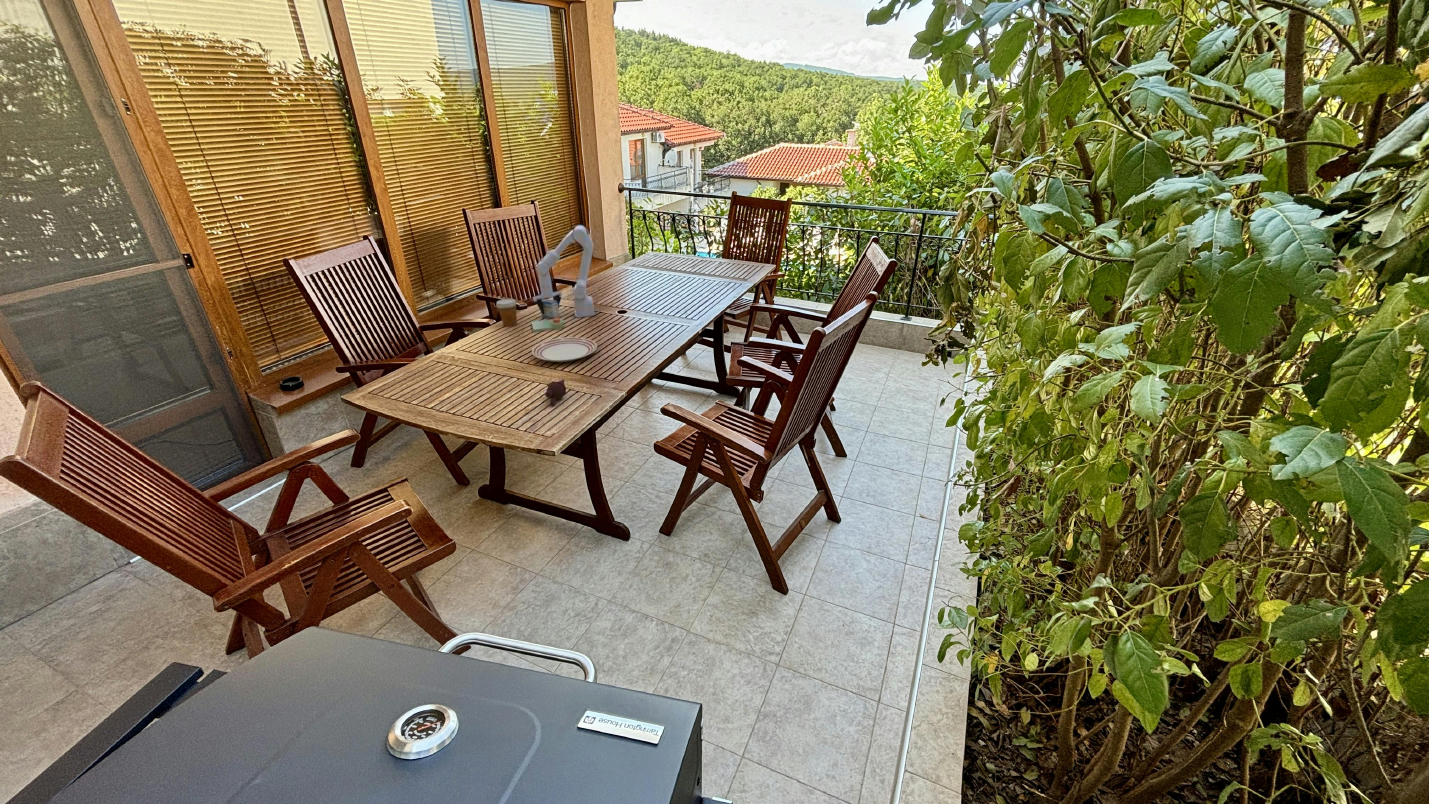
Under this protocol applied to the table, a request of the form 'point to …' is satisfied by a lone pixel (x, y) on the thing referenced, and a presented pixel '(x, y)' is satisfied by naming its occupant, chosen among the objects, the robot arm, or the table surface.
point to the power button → (556, 320)
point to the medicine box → (550, 309)
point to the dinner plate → (564, 349)
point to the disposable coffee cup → (507, 312)
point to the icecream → (555, 391)
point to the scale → (546, 325)
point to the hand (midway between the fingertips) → (550, 312)
